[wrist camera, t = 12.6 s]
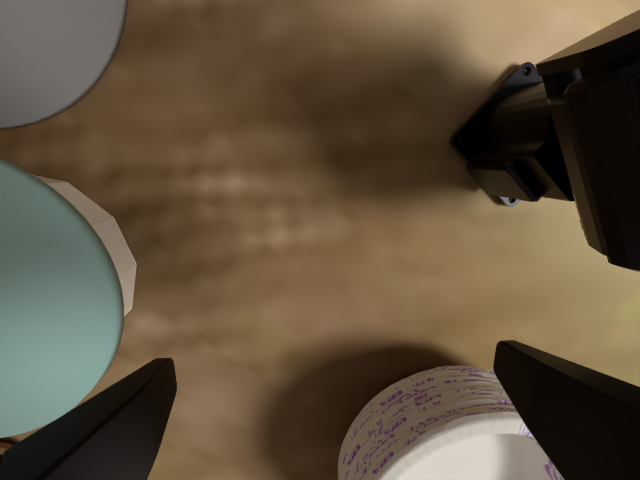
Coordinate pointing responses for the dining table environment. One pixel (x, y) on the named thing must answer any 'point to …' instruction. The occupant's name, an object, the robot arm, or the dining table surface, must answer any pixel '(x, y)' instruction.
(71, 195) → the bowl
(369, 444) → the paper bowls
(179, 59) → the dining table surface
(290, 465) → the dining table surface
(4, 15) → the mat
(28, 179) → the lid
